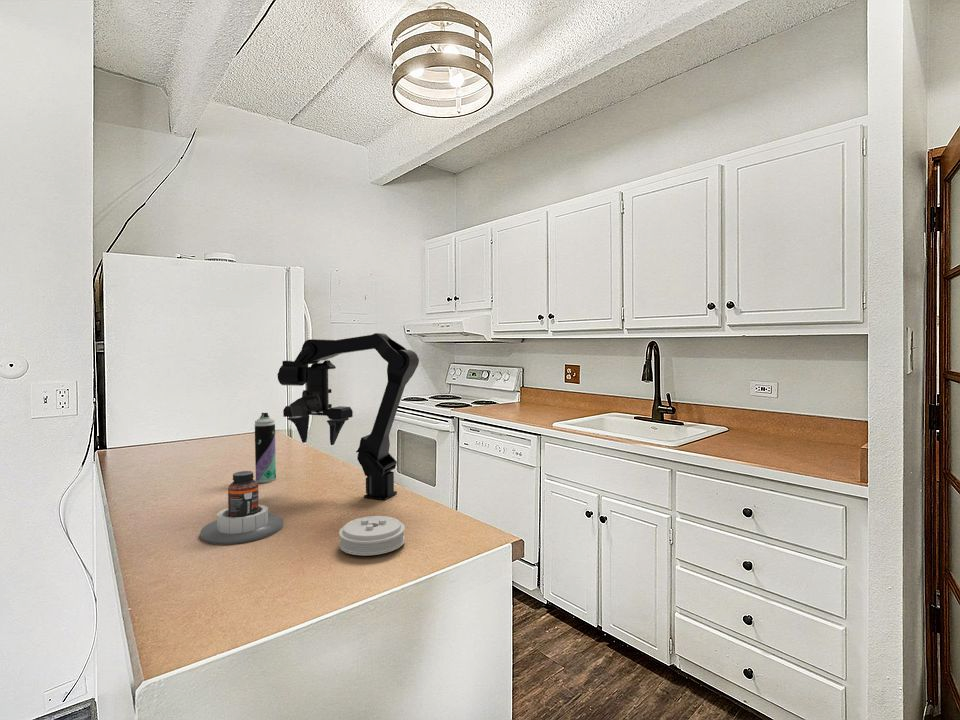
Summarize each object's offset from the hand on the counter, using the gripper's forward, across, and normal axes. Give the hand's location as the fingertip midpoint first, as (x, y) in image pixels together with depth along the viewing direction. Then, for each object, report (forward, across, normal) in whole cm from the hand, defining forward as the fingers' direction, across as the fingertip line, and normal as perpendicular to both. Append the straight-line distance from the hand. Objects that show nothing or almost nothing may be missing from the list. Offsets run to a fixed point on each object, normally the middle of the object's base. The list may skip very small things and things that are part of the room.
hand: (318, 443), depth 137 cm
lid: (+13, +34, -27) cm, 46 cm away
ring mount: (+13, +3, -29) cm, 32 cm away
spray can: (+13, -22, +4) cm, 26 cm away
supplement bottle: (+12, +3, -29) cm, 31 cm away
